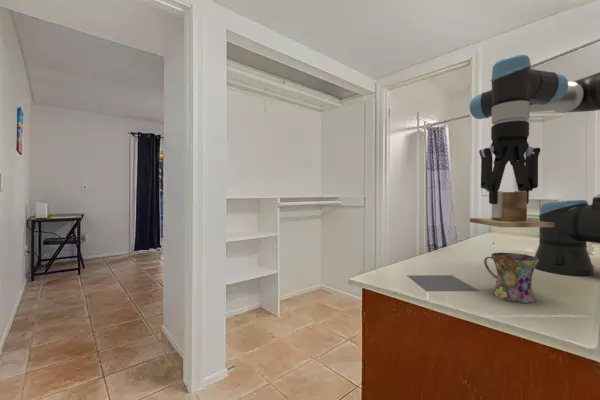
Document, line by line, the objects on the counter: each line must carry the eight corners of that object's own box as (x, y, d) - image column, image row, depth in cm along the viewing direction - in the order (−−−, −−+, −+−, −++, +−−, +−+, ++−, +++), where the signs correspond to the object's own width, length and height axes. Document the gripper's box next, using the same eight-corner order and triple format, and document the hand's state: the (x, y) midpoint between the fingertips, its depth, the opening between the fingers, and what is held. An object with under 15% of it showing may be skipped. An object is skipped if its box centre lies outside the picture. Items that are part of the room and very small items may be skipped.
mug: (547, 303, 67) (548, 258, 67) (522, 309, 63) (523, 262, 63) (495, 287, 78) (496, 249, 78) (472, 292, 74) (472, 252, 74)
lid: (514, 221, 76) (515, 192, 76) (554, 227, 64) (554, 191, 64) (469, 221, 76) (470, 192, 76) (500, 227, 64) (501, 192, 64)
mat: (451, 277, 88) (451, 275, 88) (480, 293, 74) (480, 290, 74) (406, 277, 88) (406, 275, 88) (426, 293, 74) (426, 291, 74)
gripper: (534, 126, 73) (532, 216, 74) (464, 127, 73) (463, 216, 74) (560, 118, 66) (558, 218, 66) (482, 119, 66) (481, 219, 66)
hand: (508, 217), depth 70 cm, fingers closed on lid, 5 cm apart
